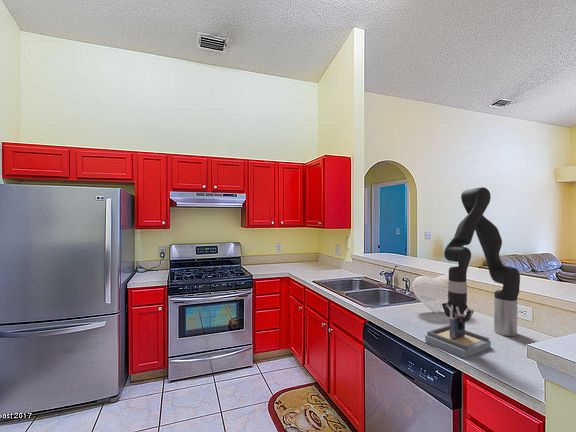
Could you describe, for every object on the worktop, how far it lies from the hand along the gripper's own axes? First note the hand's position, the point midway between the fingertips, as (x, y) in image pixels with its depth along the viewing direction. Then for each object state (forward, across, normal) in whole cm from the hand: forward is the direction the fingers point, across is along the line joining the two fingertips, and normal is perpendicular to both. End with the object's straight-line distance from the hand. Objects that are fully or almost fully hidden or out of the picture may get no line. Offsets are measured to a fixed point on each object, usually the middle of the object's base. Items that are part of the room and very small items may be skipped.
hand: (457, 328), depth 134 cm
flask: (+4, 0, 0) cm, 4 cm away
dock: (+7, 0, 0) cm, 7 cm away
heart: (+8, +32, -32) cm, 46 cm away
